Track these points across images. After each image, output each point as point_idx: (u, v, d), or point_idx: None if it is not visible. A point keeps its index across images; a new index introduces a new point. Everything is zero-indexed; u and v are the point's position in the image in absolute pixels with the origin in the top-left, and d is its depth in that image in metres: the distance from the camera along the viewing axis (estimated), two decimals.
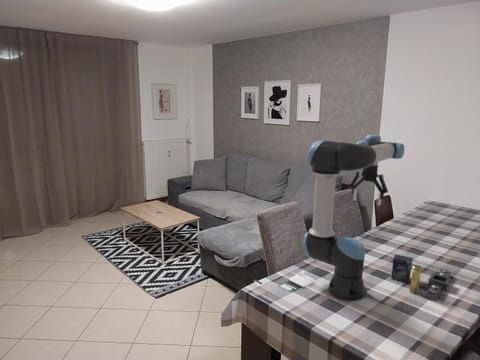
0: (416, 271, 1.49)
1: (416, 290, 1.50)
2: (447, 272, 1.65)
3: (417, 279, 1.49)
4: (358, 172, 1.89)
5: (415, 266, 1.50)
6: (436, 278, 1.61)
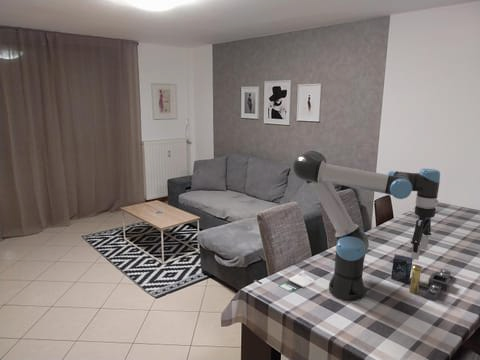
0: (416, 271, 1.49)
1: (416, 290, 1.50)
2: (447, 272, 1.65)
3: (417, 279, 1.49)
4: None
5: (415, 266, 1.50)
6: (436, 278, 1.61)
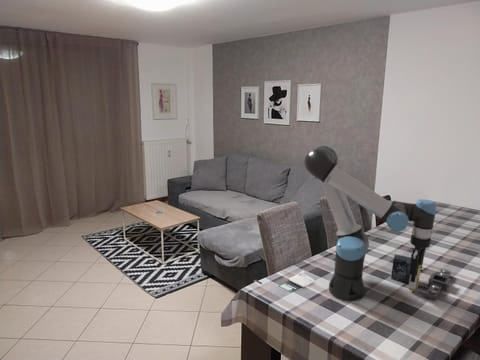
0: None
1: None
2: (447, 272, 1.65)
3: (417, 276, 1.49)
4: None
5: None
6: (436, 278, 1.61)
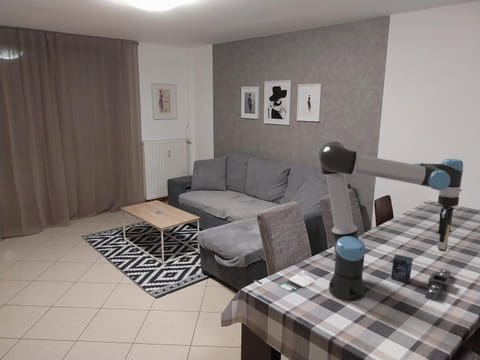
0: None
1: (445, 248, 1.51)
2: (447, 272, 1.65)
3: None
4: None
5: None
6: (436, 278, 1.61)
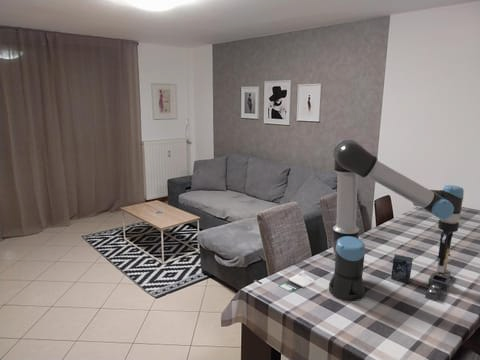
0: None
1: (444, 271, 1.55)
2: (447, 272, 1.65)
3: None
4: None
5: None
6: (436, 278, 1.61)
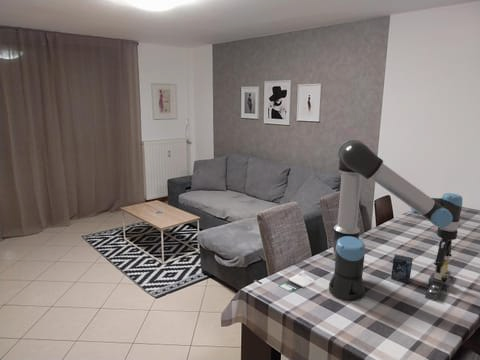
0: (443, 264, 1.55)
1: None
2: (447, 272, 1.65)
3: (443, 272, 1.55)
4: None
5: None
6: None
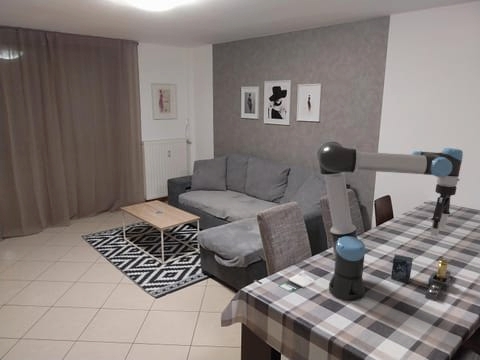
0: (443, 265, 1.54)
1: None
2: (447, 272, 1.65)
3: (443, 273, 1.55)
4: None
5: (441, 260, 1.56)
6: None
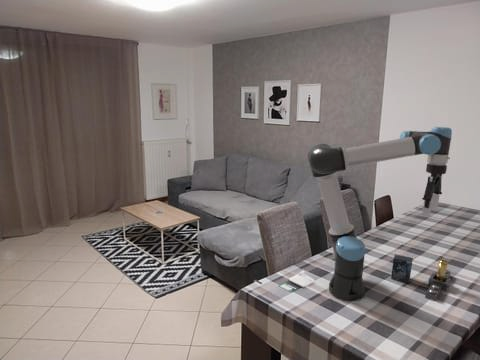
0: (443, 265, 1.54)
1: None
2: (447, 272, 1.65)
3: (443, 273, 1.55)
4: None
5: (441, 260, 1.56)
6: None
